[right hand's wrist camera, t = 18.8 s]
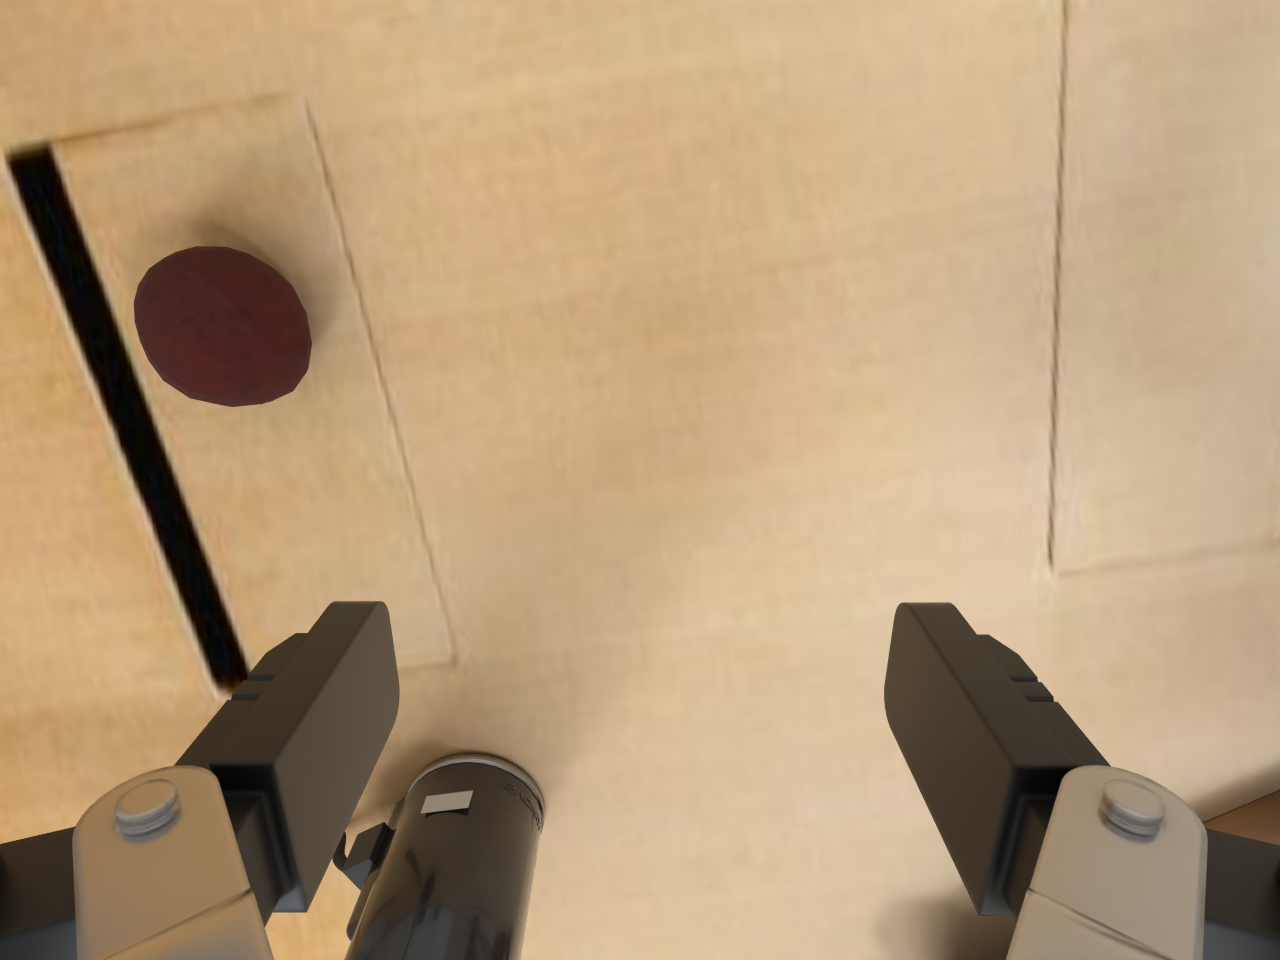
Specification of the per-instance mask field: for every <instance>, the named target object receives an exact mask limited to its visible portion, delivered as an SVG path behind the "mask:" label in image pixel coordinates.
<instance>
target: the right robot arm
mask: <svg viewBox="0 0 1280 960" xmlns="http://www.w3.org/2000/svg"><path fill="white" fill-rule="evenodd" d="M884 701H885V710H886V715H887V719H888V723H889V726H890V728H891V730H892V732H893V734H894V737H895V739H896V741H897V743H898V745H899V747H900V749H901V751H902V754H903V756H904V758H905V760H906V762H907V764H908V766H909V768H910V770H911V773H912V775H913V777H914V779H915V781H916V783H917V785H918V787H919V790H920V792H921V794H922V796H923V798H924V800H925V802H926V804H927V807H928V809H929V811H930V813H931V815H932V817H933V819H934V821H935V824H936V826H937V828H938V830H939V832H940V834H941V836H942V838H943V840H944V843H945V845H946V847H947V849H948V851H949V853H950V855H951V857H952V860H953V862H954V864H955V866H956V868H957V870H958V872H959V874H960V877H961V879H962V881H963V883H964V885H965V887H966V889H967V891H968V893H969V896H970V898H971V900H972V902H973V904H974V906H975V908H976V910H977V913H978V915H1013V916H1014V918H1015V919H1016V921H1017V925H1016V928H1015V931H1014V934H1013V938H1012V941H1011V944H1010V948H1009V951H1008V954H1007V958H1006V960H1280V845H1276V844H1272V843H1268V842H1263V841H1259V840H1255V839H1250V838H1246V837H1242V836H1237V835H1233V834H1229V833H1224V832H1220V831H1216V830H1212V829H1208V828H1205V827H1204V825H1203V823H1202V821H1201V820H1200V818H1199V817H1198V815H1197V814H1196V813H1195V812H1194V811H1193V810H1192V808H1191V807H1190V806H1189V805H1187V804H1186V803H1185V802H1184V801H1183V800H1182V799H1181V798H1179V797H1178V796H1177V795H1175V794H1174V793H1173V792H1171V791H1170V790H1168V789H1167V788H1165V787H1163V786H1162V785H1160V784H1158V783H1156V782H1154V781H1152V780H1151V779H1148V778H1146V777H1144V776H1141V775H1139V774H1136V773H1133V772H1130V771H1127V770H1124V769H1120V768H1116V767H1111V766H1110V765H1109V763H1108V762H1107V761H1106V760H1105V759H1104V757H1103V756H1102V755H1101V754H1100V752H1099V751H1098V750H1097V749H1096V748H1095V746H1094V745H1093V744H1092V743H1091V742H1090V740H1089V739H1088V738H1087V737H1086V736H1085V734H1084V733H1083V732H1082V731H1081V730H1080V728H1079V727H1078V726H1077V725H1076V723H1075V722H1074V721H1073V720H1072V719H1071V717H1070V716H1069V715H1068V714H1067V713H1066V711H1065V710H1064V709H1063V708H1062V707H1061V705H1060V704H1059V703H1058V702H1054V700H1053V696H1052V694H1051V693H1050V692H1049V691H1048V690H1047V688H1046V687H1045V686H1044V685H1043V684H1042V682H1038V680H1037V676H1036V675H1035V674H1034V673H1033V671H1032V670H1031V669H1030V668H1029V667H1028V665H1027V664H1026V663H1025V662H1024V661H1023V659H1022V658H1021V657H1020V656H1019V655H1018V654H1017V653H1015V652H1014V651H1012V650H1011V649H1009V648H1008V647H1006V646H1005V645H1003V644H1002V643H1000V642H999V641H997V640H996V639H994V638H993V637H991V636H990V635H977V634H976V633H975V632H974V630H973V629H972V628H971V626H970V625H969V624H968V622H967V621H966V620H965V619H964V617H963V616H962V615H961V613H960V612H959V611H958V609H957V608H956V607H955V606H954V605H953V604H951V603H901V604H899V606H898V607H897V609H896V613H895V617H894V624H893V630H892V637H891V644H890V651H889V658H888V665H887V672H886V679H885V687H884ZM398 706H399V680H398V673H397V666H396V659H395V652H394V645H393V638H392V631H391V624H390V617H389V612H388V609H387V606H386V605H385V603H384V602H381V601H335V602H332V603H331V604H330V605H329V606H328V607H327V608H326V610H325V611H324V612H323V614H322V615H321V616H320V618H319V619H318V620H317V622H316V623H315V624H314V626H313V627H312V628H311V630H310V631H309V632H308V633H296V634H294V635H293V636H291V637H290V638H288V639H286V640H285V641H283V642H282V643H280V644H279V645H277V646H276V647H274V648H273V649H271V650H270V651H268V652H267V653H266V654H265V655H264V656H263V657H262V659H261V660H260V661H259V662H258V664H257V665H256V666H255V667H254V668H253V670H252V671H251V672H250V673H249V675H248V676H247V681H243V682H242V683H241V684H240V686H239V687H238V688H237V689H236V690H235V692H234V693H233V694H232V699H231V700H227V701H226V703H225V704H224V705H223V706H222V708H221V709H220V710H219V711H218V712H217V714H216V715H215V716H214V717H213V718H212V720H211V721H210V722H209V723H208V725H207V726H206V727H205V728H204V729H203V731H202V732H201V733H200V734H199V736H198V737H197V738H196V739H195V740H194V742H193V743H192V744H191V745H190V747H189V748H188V749H187V750H186V751H185V753H184V754H183V755H182V756H181V758H180V759H179V760H178V761H177V762H176V764H175V765H174V766H170V767H164V768H160V769H156V770H153V771H150V772H147V773H144V774H141V775H139V776H136V777H134V778H132V779H129V780H128V781H126V782H124V783H122V784H120V785H118V786H117V787H115V788H113V789H112V790H110V791H109V792H107V793H106V794H105V795H103V796H102V797H101V798H99V799H98V800H97V801H96V802H95V803H94V804H93V805H91V806H90V807H89V808H88V810H87V811H86V812H85V813H84V814H83V815H82V817H81V818H80V820H79V821H78V823H77V825H76V827H72V828H68V829H64V830H59V831H55V832H51V833H46V834H42V835H38V836H33V837H29V838H25V839H20V840H16V841H12V842H7V843H3V844H0V960H274V958H273V954H272V951H271V948H270V944H269V941H268V938H267V934H266V931H265V926H266V924H267V922H268V920H269V918H270V916H271V914H272V912H307V911H308V908H309V906H310V904H311V902H312V900H313V898H314V896H315V893H316V891H317V889H318V887H319V885H320V883H321V881H322V878H323V876H324V874H325V872H326V870H327V868H328V866H329V863H330V861H331V859H333V863H334V864H335V866H336V867H337V868H338V869H339V870H340V871H342V872H343V873H344V874H345V875H346V876H347V877H348V878H349V879H350V880H351V881H352V882H353V883H354V884H355V885H356V886H357V887H358V888H359V889H360V890H361V893H360V895H359V898H358V900H357V903H356V905H355V908H354V910H353V913H352V915H351V918H350V920H349V923H348V925H347V936H348V938H349V939H350V941H351V943H350V946H349V949H348V951H347V954H346V956H345V959H344V960H521V953H522V947H523V940H524V934H525V928H526V921H527V915H528V908H529V902H530V896H531V889H532V883H533V877H534V870H535V864H536V858H537V851H538V845H539V838H540V834H541V832H542V828H543V823H544V816H545V806H544V801H543V797H542V795H541V792H540V790H539V789H538V787H537V785H536V784H535V783H534V781H533V780H532V779H531V778H530V777H529V776H528V775H527V774H526V773H525V772H523V771H522V770H521V769H519V768H518V767H516V766H515V765H513V764H511V763H509V762H507V761H505V760H502V759H499V758H496V757H493V756H488V755H482V754H458V755H452V756H448V757H445V758H442V759H439V760H437V761H435V762H433V763H431V764H430V765H428V766H427V767H425V768H424V769H423V770H422V771H420V773H419V774H418V775H417V776H416V777H415V778H414V780H413V782H412V783H411V785H410V788H409V790H408V793H407V795H406V798H405V799H403V800H401V801H399V802H397V803H396V806H395V808H394V811H393V813H392V816H391V818H390V821H389V823H388V826H387V825H386V823H385V822H383V823H381V824H379V825H377V826H374V827H372V828H370V829H368V830H366V831H364V832H362V833H360V834H358V835H357V838H356V840H355V842H354V844H353V847H352V849H351V851H350V853H349V856H348V858H347V857H346V856H345V844H346V833H345V829H346V827H347V825H348V823H349V820H350V818H351V816H352V814H353V812H354V810H355V808H356V805H357V803H358V801H359V799H360V797H361V795H362V793H363V790H364V788H365V786H366V784H367V782H368V780H369V778H370V775H371V773H372V771H373V769H374V767H375V765H376V763H377V760H378V758H379V756H380V754H381V752H382V750H383V747H384V745H385V743H386V741H387V739H388V737H389V735H390V732H391V730H392V728H393V726H394V723H395V720H396V716H397V712H398Z"/></svg>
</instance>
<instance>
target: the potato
mask: <svg viewBox="0 0 1280 960" xmlns="http://www.w3.org/2000/svg"><path fill="white" fill-rule="evenodd" d="M134 315H135V324H136V328H137V332H138V335H139V339H140V342H141V344H142V347H143V349H144V351H145V353H146V356H147V358H148V360H149V362H150V363H151V364H152V366H153V367H154V368H155V370H156V371H157V373H158V374H159V375H160V377H161V378H162V379H163V381H165V382H166V383H168V384H169V385H171V386H172V387H174V388H175V389H177V390H178V391H180V392H181V393H183V394H184V395H186V396H187V397H189V398H191V399H196V400H200V401H205V402H210V403H214V404H219V405H224V406H230V407H237V406H246V405H256V404H263V403H267V402H270V401H273V400H275V399H277V398H279V397H281V396H284V395H286V394H288V393H290V392H292V391H294V389H295V388H296V386H297V385H298V383H299V382H300V381H301V379H302V378H303V376H304V375H305V374H306V372H307V370H308V367H309V360H310V353H311V346H312V342H311V336H310V330H309V325H308V319H307V314H306V312H305V310H304V308H303V306H302V304H301V302H300V300H299V298H298V296H297V294H296V292H295V290H294V288H293V286H292V285H291V284H290V283H289V282H288V281H287V280H286V279H284V278H283V277H282V276H281V275H280V274H279V273H278V272H277V271H276V270H275V269H274V268H272V267H270V266H268V265H267V264H265V263H263V262H262V261H260V260H258V259H257V258H255V257H253V256H252V255H250V254H247V253H244V252H241V251H238V250H235V249H231V248H228V247H200V246H196V247H192V248H189V249H185V250H182V251H178V252H175V253H173V254H171V255H169V256H167V257H165V258H164V259H162V260H161V261H159V262H158V263H156V264H155V265H154V266H152V267H151V268H149V270H148V271H147V273H146V274H145V276H144V277H143V279H142V280H141V282H140V283H139V285H138V289H137V292H136V296H135V300H134Z"/></svg>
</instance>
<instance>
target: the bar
mask: <svg viewBox="0 0 1280 960" xmlns="http://www.w3.org/2000/svg"><path fill="white" fill-rule="evenodd" d="M1203 825H1204V827H1205V828H1208V829H1212V830H1216V831H1220V832H1224V833H1229V834H1233V835H1237V836H1242V837H1246V838H1250V839H1255V840H1259V841H1263V842H1268V843H1272V844H1276V845H1280V791H1278V792H1275V793H1273V794H1271V795H1268V796H1266V797H1264V798H1261V799H1259V800H1257V801H1254V802H1252V803H1250V804H1247V805H1245V806H1243V807H1241V808H1238V809H1236V810H1234V811H1231V812H1229V813H1227V814H1224V815H1222V816H1220V817H1217V818H1215V819H1213V820H1210V821H1208V822H1206V823H1203Z"/></svg>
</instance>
